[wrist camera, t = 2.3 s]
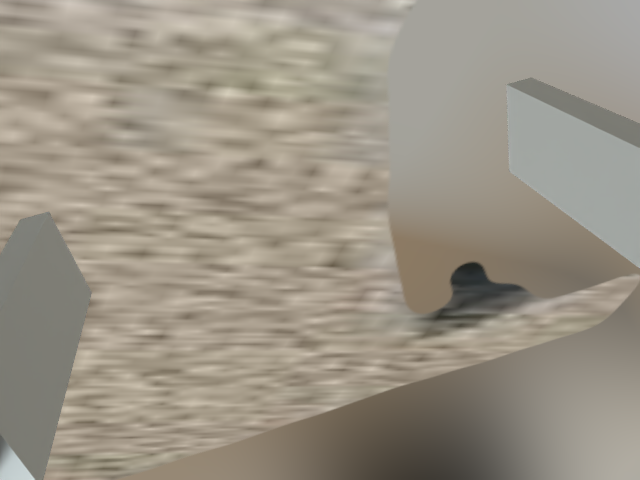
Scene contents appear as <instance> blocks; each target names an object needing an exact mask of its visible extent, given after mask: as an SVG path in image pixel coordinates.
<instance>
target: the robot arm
mask: <svg viewBox="0 0 640 480" xmlns="http://www.w3.org/2000/svg"><path fill="white" fill-rule="evenodd" d="M507 118H508V149H509V150H508V151H509V171H510V172H511V173H512V174H513V175H515V176H516V177H518V178H519V179H520V180H522V181H523V182H524V183H526V184H527V185H528V186H530V187H531V188H532V189H534V190H535V191H536V192H538V193H539V194H540V195H542V196H543V197H545V198H546V199H547V200H549V201H550V202H551V203H553V204H554V205H555V206H557V207H558V208H559V209H561V210H562V211H563V212H565V213H566V214H567V215H569V216H570V217H571V218H573V219H574V220H575V221H577V222H578V223H580V224H581V225H582V226H583V227H585V228H586V229H587V230H589V231H590V232H592V233H593V234H594V235H596V236H597V237H598V238H600V239H601V240H602V241H604V242H605V243H606V244H608V245H609V246H610V247H612V248H613V249H614V250H616V251H617V252H618V253H620V254H621V255H622V256H624V257H625V258H627V259H628V260H629V261H631V262H632V263H633V264H635V265H636V266H637V267H639V268H640V123H637V122H635V121H633V120H630V119H628V118H626V117H623V116H621V115H618V114H616V113H613V112H611V111H609V110H607V109H604V108H602V107H600V106H597V105H595V104H593V103H590V102H588V101H585V100H583V99H581V98H578V97H576V96H574V95H571V94H569V93H567V92H564V91H562V90H560V89H557V88H555V87H552V86H550V85H548V84H545V83H543V82H541V81H538V80H536V79H533V78H528V79H525V80H521V81H517V82H514V83H510V84H507ZM91 294H92V292H91V290H90V288H89V286H88V285H87V283H86V281H85V279H84V277H83V275H82V273H81V271H80V269H79V268H78V266H77V264H76V262H75V260H74V258H73V256H72V254H71V252H70V251H69V249H68V247H67V245H66V243H65V241H64V239H63V237H62V236H61V234H60V232H59V230H58V228H57V226H56V224H55V222H54V220H53V219H52V217H51V215H50V213H49V212H46V213H43V214H39V215H35V216H32V217H28V218H25V219H21V220H20V221H19V223H18V225H17V226H16V228H15V230H14V231H13V233H12V235H11V237H10V238H9V240H8V242H7V244H6V245H5V247H4V249H3V251H2V252H1V254H0V480H43V478H44V474H45V471H46V467H47V463H48V459H49V455H50V451H51V448H52V444H53V440H54V436H55V432H56V428H57V424H58V421H59V417H60V413H61V409H62V405H63V401H64V398H65V394H66V390H67V386H68V382H69V378H70V374H71V371H72V367H73V363H74V359H75V355H76V351H77V348H78V344H79V340H80V336H81V332H82V328H83V324H84V321H85V317H86V313H87V309H88V305H89V301H90V298H91Z"/></svg>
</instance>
